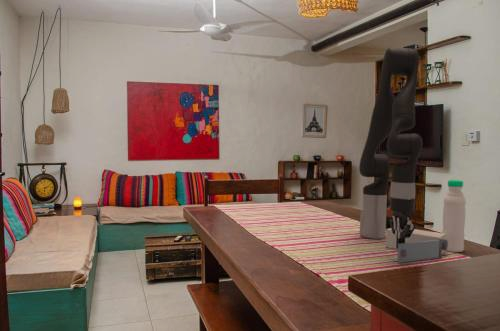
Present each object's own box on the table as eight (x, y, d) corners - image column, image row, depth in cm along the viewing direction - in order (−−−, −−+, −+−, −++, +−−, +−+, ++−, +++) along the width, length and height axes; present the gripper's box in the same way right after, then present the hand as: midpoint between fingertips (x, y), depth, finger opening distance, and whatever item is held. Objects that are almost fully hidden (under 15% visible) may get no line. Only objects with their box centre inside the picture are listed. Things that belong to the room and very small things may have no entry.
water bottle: (437, 248, 145) (439, 179, 144) (451, 246, 148) (454, 179, 146) (453, 253, 139) (456, 181, 137) (468, 251, 141) (471, 180, 140)
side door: (400, 263, 126) (401, 244, 125) (397, 262, 127) (398, 243, 127) (443, 258, 132) (444, 239, 132) (439, 256, 134) (440, 238, 133)
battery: (403, 230, 176) (404, 207, 175) (387, 229, 176) (388, 207, 176) (400, 228, 180) (400, 205, 180) (384, 227, 181) (385, 205, 180)
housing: (385, 247, 146) (386, 227, 145) (394, 243, 152) (395, 224, 151) (442, 257, 133) (443, 235, 133) (449, 253, 139) (450, 232, 139)
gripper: (381, 193, 135) (379, 244, 136) (402, 199, 122) (400, 255, 123) (402, 192, 136) (400, 243, 137) (425, 199, 123) (423, 254, 124)
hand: (400, 249), depth 130 cm, fingers closed
